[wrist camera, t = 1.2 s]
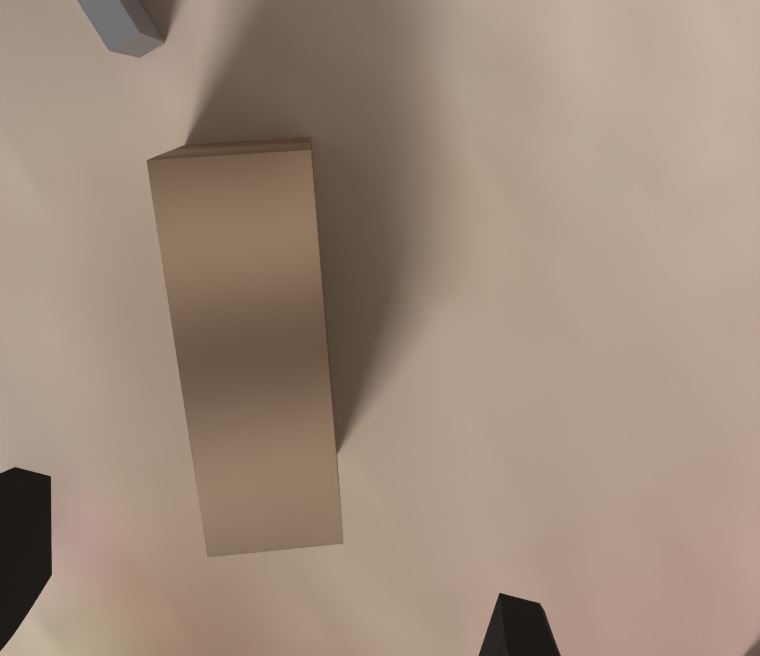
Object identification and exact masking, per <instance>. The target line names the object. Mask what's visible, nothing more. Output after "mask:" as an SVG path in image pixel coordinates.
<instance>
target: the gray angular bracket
mask: <svg viewBox="0 0 760 656" xmlns="http://www.w3.org/2000/svg"><path fill="white" fill-rule="evenodd" d="M77 1H78V2H79V4H80V5H81V7H82V8H83V10H84V12H85V13H86V15H87V16H88V18H89V20H90V21H91V23H92V24H93V26H94V27H95V29H96V31H97V32H98V34H99V35H100V37H101V38H102V40H103V42H104V43H105V45H106V46H107V48H108V50H109V51H112V52H117V53H121V54H126V55H130V56H135V57H139V58H140V57H141V56H143V55H145V54H146V53H148V52H150V51H151V50H153V49H155V48H156V47H158V46H160V45H161V44H163V43H165V41H164V39H163V38H162V36H161V34H160V33H159V31H158V29H157V28H156V26H155V25H154V23H153V21H152V20H151V18H150V16H149V15H148V13H147V11H146V10H145V8H144V6H143V5H142V3H141V1H140V0H77Z"/></svg>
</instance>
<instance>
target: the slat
mask: <svg viewBox="0 0 760 656" xmlns="http://www.w3.org/2000/svg"><path fill="white" fill-rule="evenodd" d="M147 165H148V172H149V178H150V185H151V191H152V198H153V204H154V211H155V217H156V224H157V230H158V237H159V244H160V250H161V257H162V263H163V270H164V276H165V283H166V289H167V296H168V302H169V309H170V315H171V322H172V328H173V335H174V341H175V348H176V354H177V361H178V367H179V374H180V380H181V387H182V393H183V400H184V406H185V413H186V419H187V426H188V432H189V439H190V445H191V452H192V458H193V465H194V471H195V478H196V484H197V491H198V497H199V504H200V510H201V517H202V523H203V530H204V536H205V543H206V549H207V556H208V557H216V556H226V555H235V554H245V553H255V552H265V551H275V550H285V549H294V548H304V547H314V546H324V545H334V544H343V530H342V516H341V503H340V489H339V475H338V462H337V449H336V437H335V425H334V412H333V400H332V388H331V376H330V364H329V352H328V340H327V328H326V316H325V303H324V291H323V279H322V267H321V255H320V243H319V231H318V219H317V207H316V194H315V182H314V170H313V158H312V146H311V137H310V138H294V139H277V140H261V141H245V142H229V143H213V144H197V145H184V146H181V147H179V148H176V149H174V150H171V151H169V152H166V153H164V154H161V155H159V156H156V157H154V158H151V159H149V160H147Z"/></svg>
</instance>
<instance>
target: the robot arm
mask: <svg viewBox="0 0 760 656" xmlns="http://www.w3.org/2000/svg"><path fill="white" fill-rule="evenodd" d="M51 575H52V551H51V476H47V475H43V474H40V473H36V472H32V471H28V470H24V469H20V468H16V467H14V468H12V469H9V470H7V471H5V472H3V473H0V651H1V650H2V648H3V647H4V646H5V645H6V643H7V642H8V641H9V640H10V638H11V637H12V636H13V635H14V633H15V632H16V630H17V629H18V627H19V626H20V624H21V623H22V621H23V620H24V618H25V617H26V615H27V614H28V612H29V611H30V609H31V608H32V606H33V604H34V603H35V601H36V600H37V598H38V596H39V595H40V593H41V591H42V590H43V588H44V587H45V585H46V583H47V582H48V580H49V578H50V577H51ZM479 656H561V655H560V653H559V650H558V648H557V645H556V642H555V639H554V637H553V634H552V631H551V628H550V626H549V623H548V620H547V617H546V614H545V611H544V610H543V608H542V606H541V605H540V603H536V602H532V601H529V600H525V599H521V598H517V597H513V596H509V595H505V594H502V593H499V596H498V599H497V602H496V605H495V608H494V611H493V614H492V617H491V620H490V623H489V626H488V629H487V632H486V635H485V638H484V641H483V644H482V647H481V650H480V653H479Z"/></svg>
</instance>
